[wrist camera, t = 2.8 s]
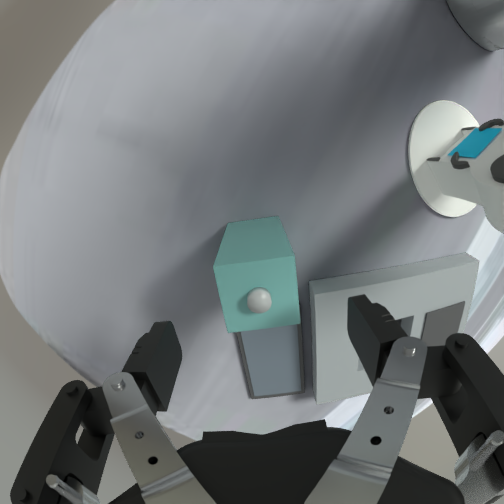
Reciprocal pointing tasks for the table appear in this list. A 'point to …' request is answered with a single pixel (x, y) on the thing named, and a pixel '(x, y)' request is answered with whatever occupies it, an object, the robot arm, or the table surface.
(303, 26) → the table surface
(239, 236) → the teal knobbed block
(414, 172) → the white curved stand
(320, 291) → the plate
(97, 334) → the table surface
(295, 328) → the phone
